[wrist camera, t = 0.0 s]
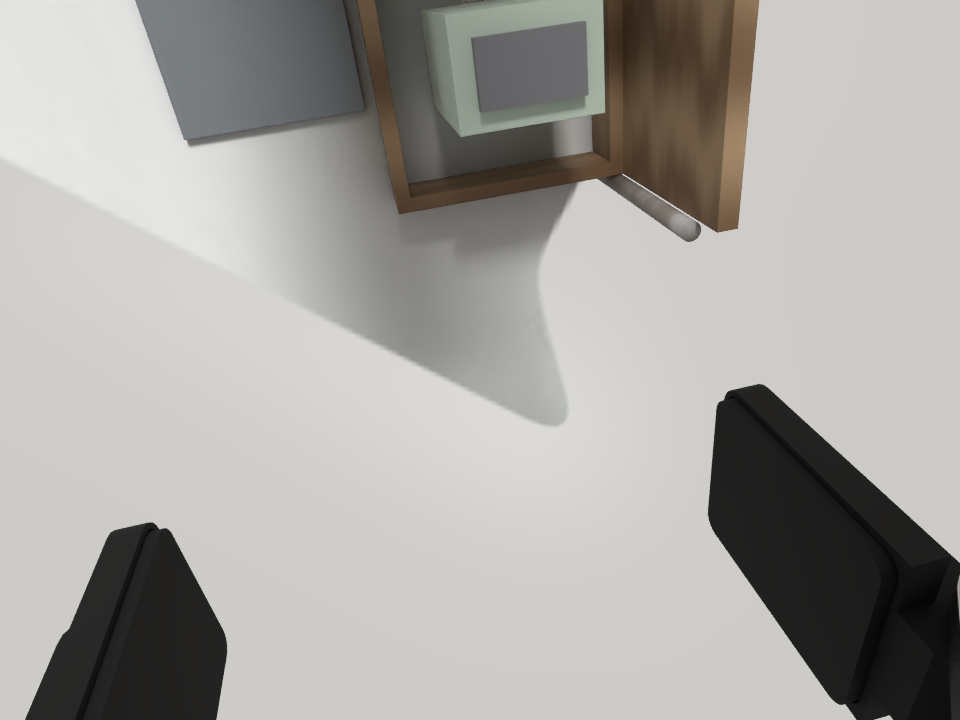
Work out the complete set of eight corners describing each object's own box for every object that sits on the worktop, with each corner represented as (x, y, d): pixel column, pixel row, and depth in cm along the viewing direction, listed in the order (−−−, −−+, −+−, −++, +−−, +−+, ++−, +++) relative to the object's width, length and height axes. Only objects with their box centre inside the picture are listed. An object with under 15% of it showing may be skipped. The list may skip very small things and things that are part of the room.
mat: (110, -79, 30) (107, -80, 30) (321, -106, 31) (321, -107, 31) (185, 138, 35) (184, 140, 35) (364, 109, 36) (365, 110, 36)
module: (420, 10, 34) (446, 15, 26) (544, -9, 35) (608, -9, 27) (434, 107, 37) (463, 139, 29) (550, 88, 38) (609, 114, 30)
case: (338, -93, 32) (340, -144, 20) (618, -128, 33) (777, -196, 21) (398, 216, 40) (425, 312, 28) (620, 176, 41) (735, 251, 29)
